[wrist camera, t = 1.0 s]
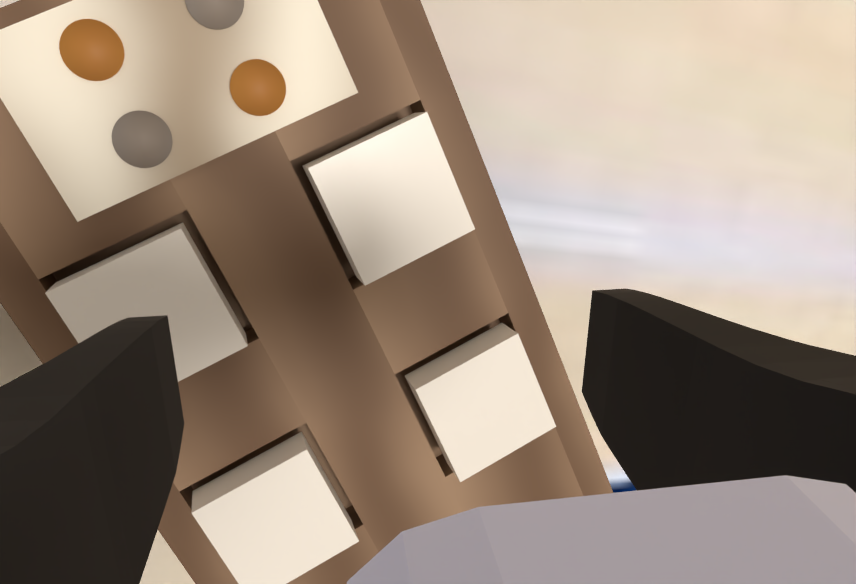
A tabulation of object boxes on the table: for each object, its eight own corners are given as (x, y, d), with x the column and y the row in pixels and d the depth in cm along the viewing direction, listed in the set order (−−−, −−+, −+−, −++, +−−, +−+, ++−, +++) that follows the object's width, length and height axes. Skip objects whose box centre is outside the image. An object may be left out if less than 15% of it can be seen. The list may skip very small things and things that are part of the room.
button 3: (128, 392, 21) (122, 410, 20) (55, 282, 20) (45, 293, 19) (245, 333, 22) (248, 345, 21) (182, 222, 21) (180, 228, 19)
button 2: (447, 464, 25) (460, 482, 24) (404, 375, 24) (415, 389, 23) (539, 411, 26) (556, 426, 25) (501, 322, 25) (518, 333, 23)
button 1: (249, 578, 24) (251, 604, 23) (192, 490, 23) (191, 512, 21) (351, 519, 25) (359, 541, 23) (301, 431, 23) (307, 449, 22)
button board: (269, 635, 29) (277, 707, 25) (-102, 80, 21) (-167, 71, 17) (571, 455, 31) (618, 498, 27) (344, -101, 23) (368, -142, 20)
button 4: (356, 276, 23) (365, 285, 21) (301, 165, 21) (307, 168, 20) (460, 223, 23) (475, 229, 22) (414, 112, 22) (427, 111, 21)
